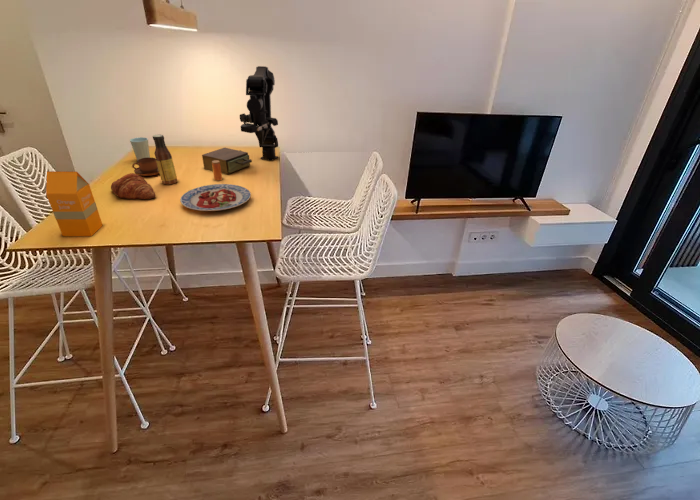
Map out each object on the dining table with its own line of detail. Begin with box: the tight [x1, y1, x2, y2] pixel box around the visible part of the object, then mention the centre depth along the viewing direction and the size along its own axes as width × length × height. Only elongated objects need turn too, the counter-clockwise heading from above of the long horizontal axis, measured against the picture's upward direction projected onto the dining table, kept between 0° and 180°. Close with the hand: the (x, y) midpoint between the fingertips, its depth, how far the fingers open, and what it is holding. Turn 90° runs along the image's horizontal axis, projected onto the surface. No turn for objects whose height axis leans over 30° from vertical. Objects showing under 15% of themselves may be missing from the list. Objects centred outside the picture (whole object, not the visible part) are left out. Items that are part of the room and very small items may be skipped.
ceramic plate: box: [179, 183, 252, 212], centre depth 147 cm, size 26×26×3 cm
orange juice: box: [45, 170, 103, 237], centre depth 119 cm, size 8×9×20 cm
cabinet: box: [201, 147, 250, 175], centre depth 180 cm, size 15×15×7 cm
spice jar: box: [212, 160, 223, 181], centre depth 166 cm, size 3×3×8 cm
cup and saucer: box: [131, 156, 160, 177], centre depth 170 cm, size 12×12×6 cm
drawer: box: [227, 154, 253, 174], centre depth 179 cm, size 18×13×5 cm
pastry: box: [110, 172, 156, 200], centre depth 149 cm, size 17×15×8 cm
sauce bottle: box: [152, 133, 178, 185], centre depth 158 cm, size 7×6×20 cm
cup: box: [129, 136, 151, 162], centre depth 183 cm, size 8×8×10 cm
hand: (261, 144), depth 172 cm, fingers closed
